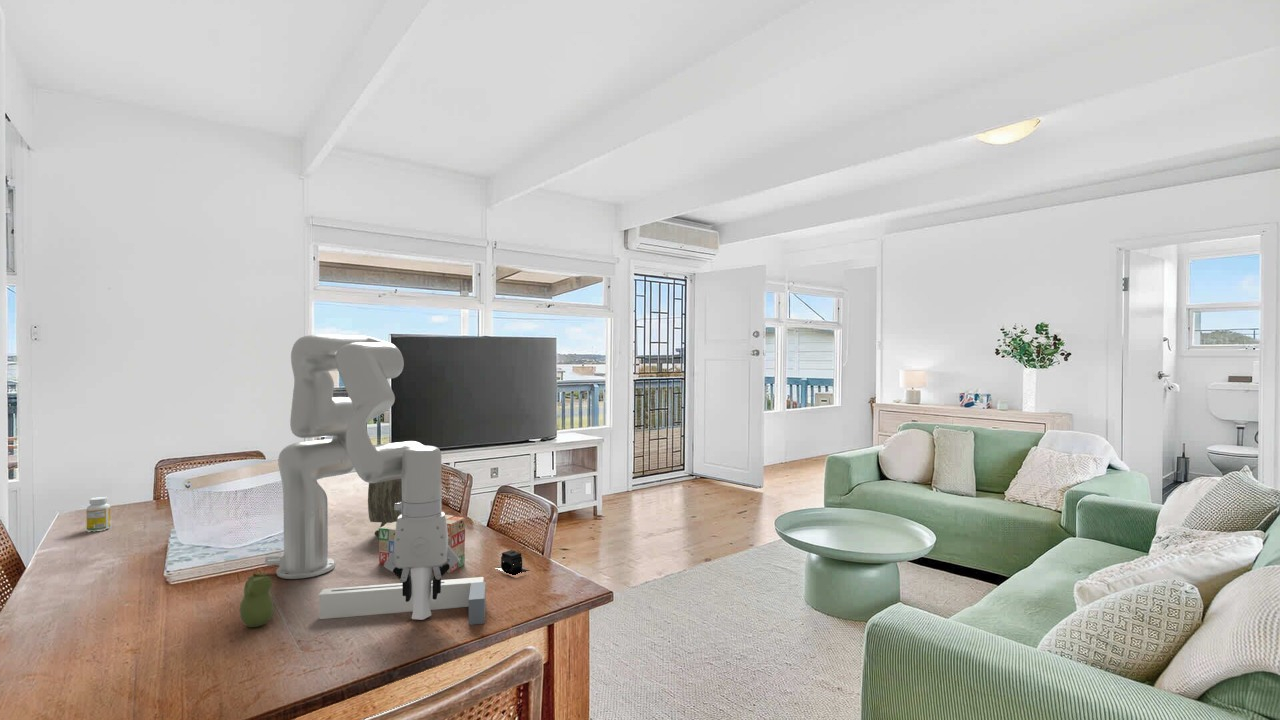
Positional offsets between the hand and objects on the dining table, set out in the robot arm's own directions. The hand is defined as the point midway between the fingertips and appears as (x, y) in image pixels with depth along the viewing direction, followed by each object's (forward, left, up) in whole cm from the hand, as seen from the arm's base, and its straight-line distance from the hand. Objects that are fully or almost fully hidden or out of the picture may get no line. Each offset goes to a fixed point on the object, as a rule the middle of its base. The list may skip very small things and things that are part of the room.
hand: (421, 597), depth 125 cm
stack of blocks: (-4, +33, -5) cm, 34 cm away
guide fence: (-4, +1, -4) cm, 6 cm away
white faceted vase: (0, 0, -4) cm, 4 cm away
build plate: (+18, +24, -5) cm, 31 cm away
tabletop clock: (-15, +64, -5) cm, 66 cm away
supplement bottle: (-102, +84, -5) cm, 133 cm away
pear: (-31, +3, -5) cm, 32 cm away
